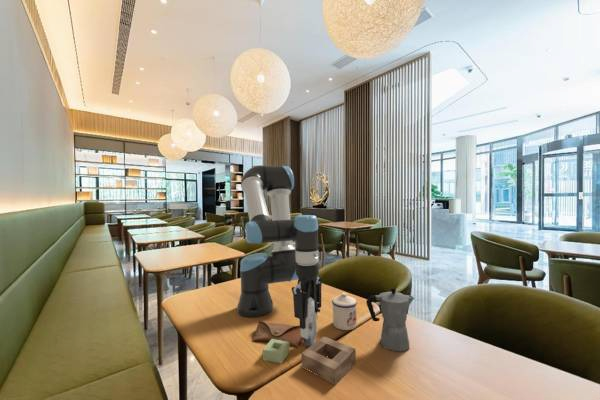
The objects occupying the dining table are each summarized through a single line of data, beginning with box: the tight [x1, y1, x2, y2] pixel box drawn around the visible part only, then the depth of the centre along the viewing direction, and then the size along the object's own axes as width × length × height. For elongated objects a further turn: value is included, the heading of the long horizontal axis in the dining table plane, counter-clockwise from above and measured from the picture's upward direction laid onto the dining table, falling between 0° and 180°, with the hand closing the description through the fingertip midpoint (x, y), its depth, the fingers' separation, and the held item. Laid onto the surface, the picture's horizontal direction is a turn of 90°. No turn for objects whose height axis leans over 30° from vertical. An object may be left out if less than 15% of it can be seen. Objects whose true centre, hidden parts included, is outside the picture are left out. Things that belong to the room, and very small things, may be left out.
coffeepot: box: [365, 287, 415, 353], centre depth 81 cm, size 15×9×18 cm, turn 90°
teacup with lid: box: [331, 292, 358, 331], centre depth 95 cm, size 12×9×12 cm
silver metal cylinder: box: [302, 296, 317, 348], centre depth 83 cm, size 4×4×16 cm
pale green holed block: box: [262, 339, 290, 364], centre depth 77 cm, size 6×6×3 cm
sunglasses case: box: [251, 321, 303, 348], centre depth 87 cm, size 18×7×7 cm, turn 77°
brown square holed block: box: [301, 336, 357, 386], centre depth 72 cm, size 11×11×4 cm
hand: (309, 334), depth 83 cm, fingers closed on silver metal cylinder, 4 cm apart
